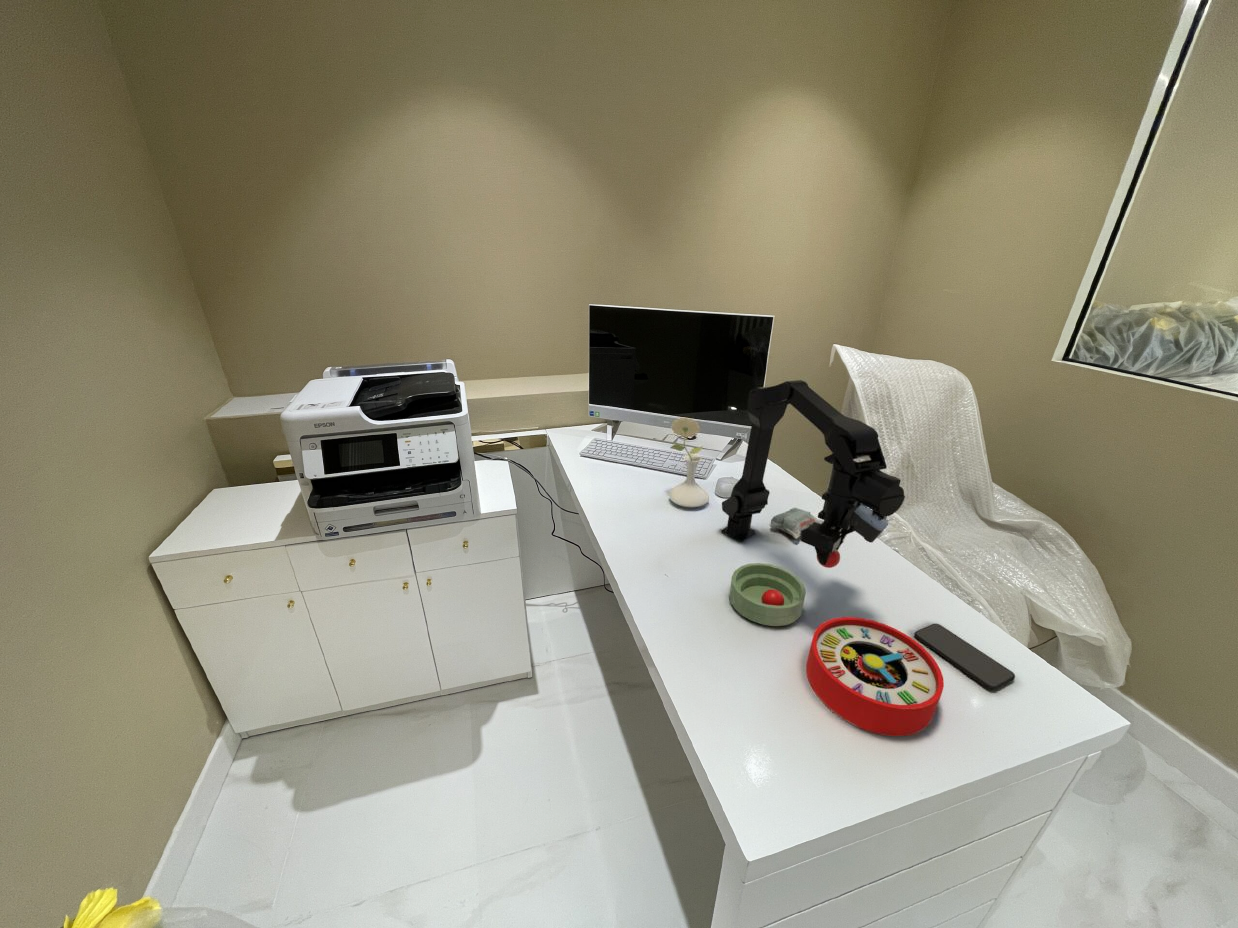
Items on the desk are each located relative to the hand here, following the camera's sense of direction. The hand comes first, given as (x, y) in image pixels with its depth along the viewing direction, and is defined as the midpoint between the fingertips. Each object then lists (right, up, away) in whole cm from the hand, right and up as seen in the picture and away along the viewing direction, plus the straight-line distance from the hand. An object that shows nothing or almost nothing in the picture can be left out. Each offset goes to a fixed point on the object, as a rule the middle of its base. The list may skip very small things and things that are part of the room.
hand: (827, 559), depth 101 cm
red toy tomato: (0, -1, +1) cm, 2 cm away
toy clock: (+1, -19, -15) cm, 24 cm away
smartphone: (+21, -16, -9) cm, 28 cm away
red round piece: (-11, -7, +2) cm, 14 cm away
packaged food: (+4, +2, +30) cm, 31 cm away
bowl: (-12, -10, +4) cm, 16 cm away
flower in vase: (-23, +8, +44) cm, 50 cm away
